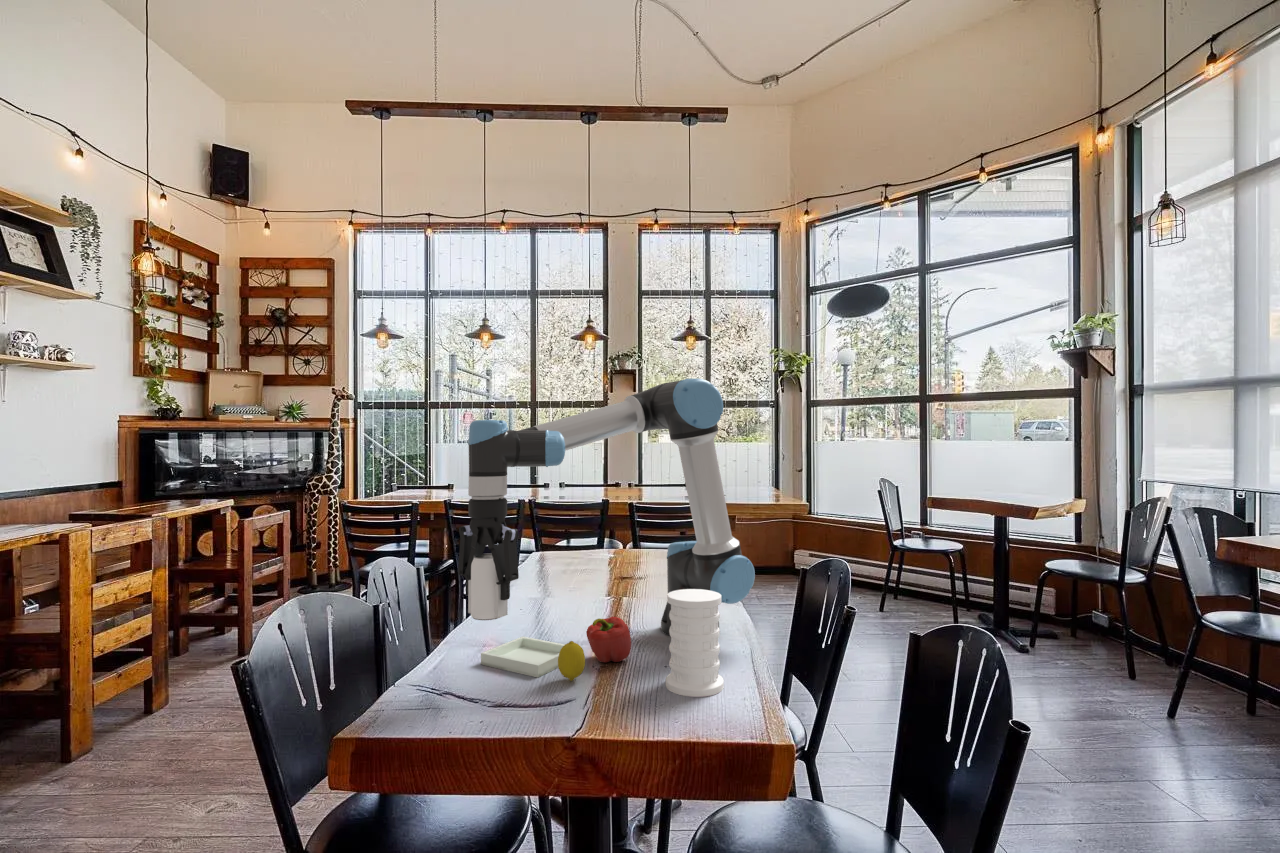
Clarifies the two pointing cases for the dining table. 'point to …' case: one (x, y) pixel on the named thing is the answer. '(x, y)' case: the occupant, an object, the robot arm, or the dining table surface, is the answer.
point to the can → (483, 587)
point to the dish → (524, 656)
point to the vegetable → (609, 639)
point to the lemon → (571, 660)
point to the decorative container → (694, 643)
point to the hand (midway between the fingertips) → (487, 613)
